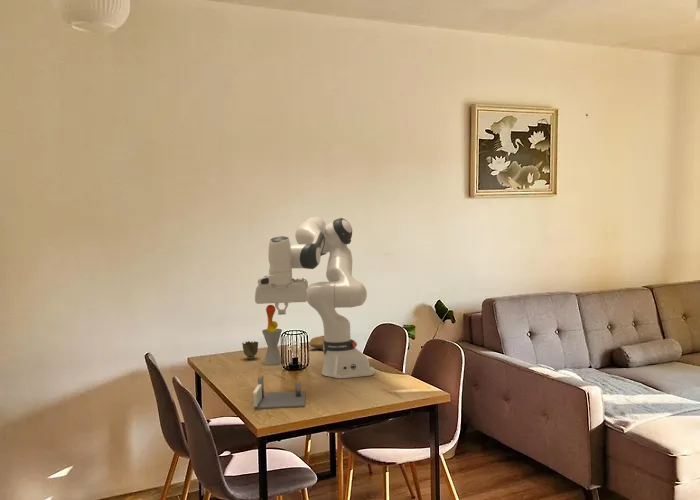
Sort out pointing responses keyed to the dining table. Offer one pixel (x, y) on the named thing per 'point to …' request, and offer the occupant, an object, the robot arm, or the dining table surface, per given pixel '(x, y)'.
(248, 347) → the cup
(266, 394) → the yard mat
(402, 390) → the dining table surface
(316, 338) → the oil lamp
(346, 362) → the robot arm
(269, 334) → the lava lamp
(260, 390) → the cream plank
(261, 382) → the posts
